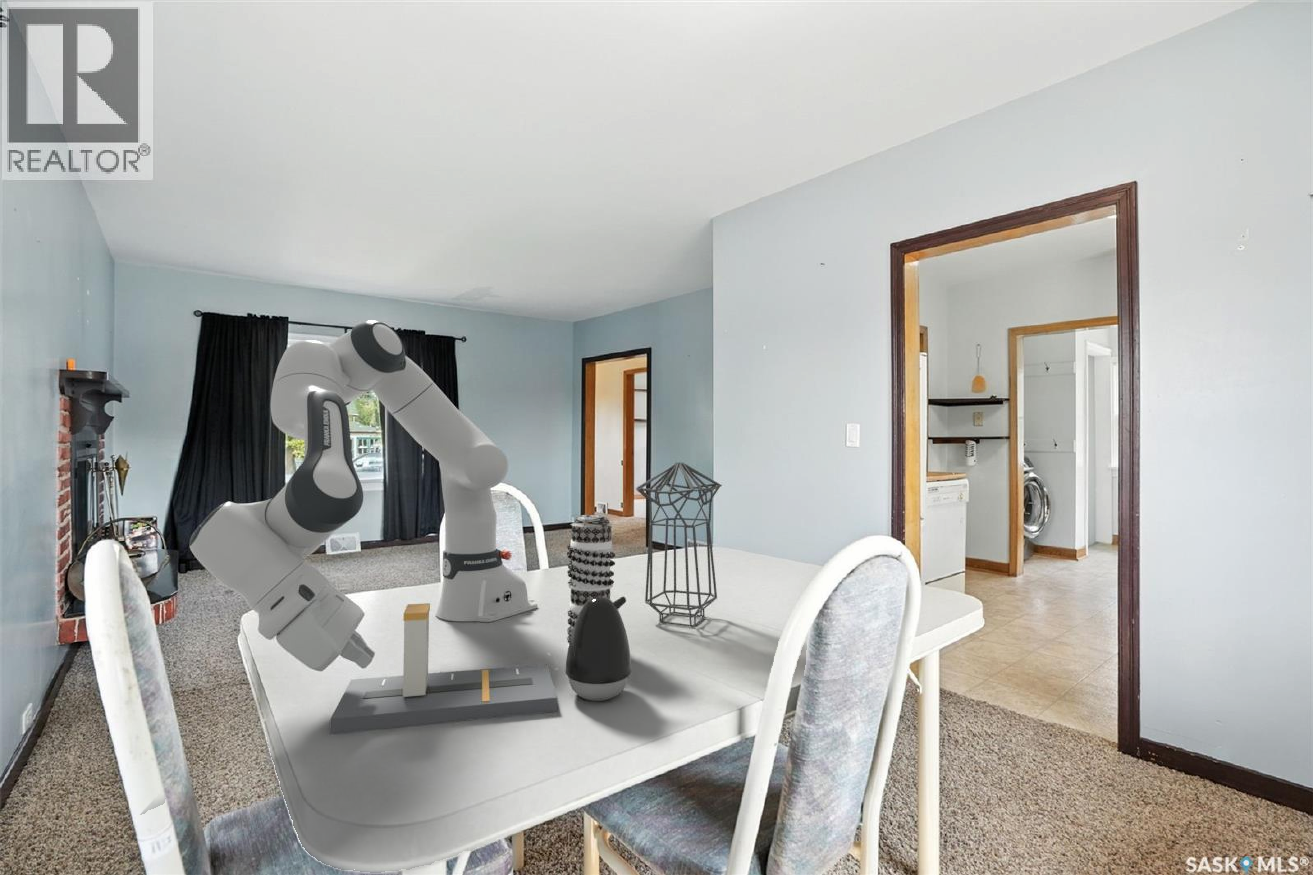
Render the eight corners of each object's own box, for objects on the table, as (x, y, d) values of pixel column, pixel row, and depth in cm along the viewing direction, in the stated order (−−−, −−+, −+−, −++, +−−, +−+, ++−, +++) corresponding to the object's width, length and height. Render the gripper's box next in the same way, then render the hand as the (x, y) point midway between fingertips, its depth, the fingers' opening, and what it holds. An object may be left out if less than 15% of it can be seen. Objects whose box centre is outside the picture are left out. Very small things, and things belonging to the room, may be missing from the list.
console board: (330, 733, 84) (330, 717, 85) (350, 692, 98) (351, 678, 98) (556, 711, 93) (556, 696, 93) (546, 676, 106) (547, 663, 106)
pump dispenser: (645, 694, 99) (646, 597, 99) (593, 714, 92) (594, 609, 92) (603, 676, 106) (605, 585, 106) (552, 693, 99) (553, 596, 99)
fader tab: (402, 697, 91) (403, 613, 91) (406, 683, 96) (407, 604, 96) (425, 695, 92) (427, 612, 92) (428, 681, 97) (429, 603, 97)
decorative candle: (555, 646, 121) (557, 515, 121) (592, 636, 127) (595, 512, 127) (585, 659, 114) (587, 520, 114) (623, 647, 121) (625, 516, 121)
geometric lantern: (701, 635, 130) (699, 464, 130) (633, 625, 137) (631, 463, 137) (727, 615, 144) (725, 461, 144) (664, 607, 151) (662, 460, 151)
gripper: (298, 596, 99) (365, 654, 102) (253, 636, 79) (338, 707, 82) (330, 566, 100) (395, 624, 103) (294, 599, 81) (376, 669, 83)
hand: (370, 661), depth 92 cm, fingers closed
